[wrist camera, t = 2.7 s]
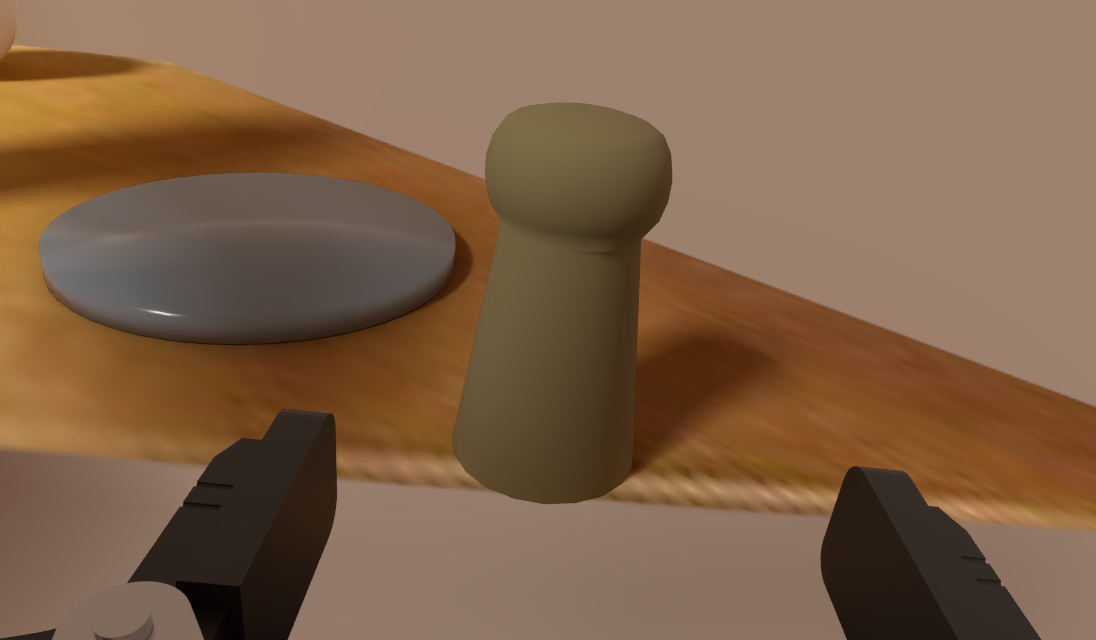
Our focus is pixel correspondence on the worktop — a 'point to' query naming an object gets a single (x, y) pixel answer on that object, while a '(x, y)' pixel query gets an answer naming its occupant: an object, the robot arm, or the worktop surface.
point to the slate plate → (247, 257)
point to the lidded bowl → (8, 25)
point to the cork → (561, 302)
